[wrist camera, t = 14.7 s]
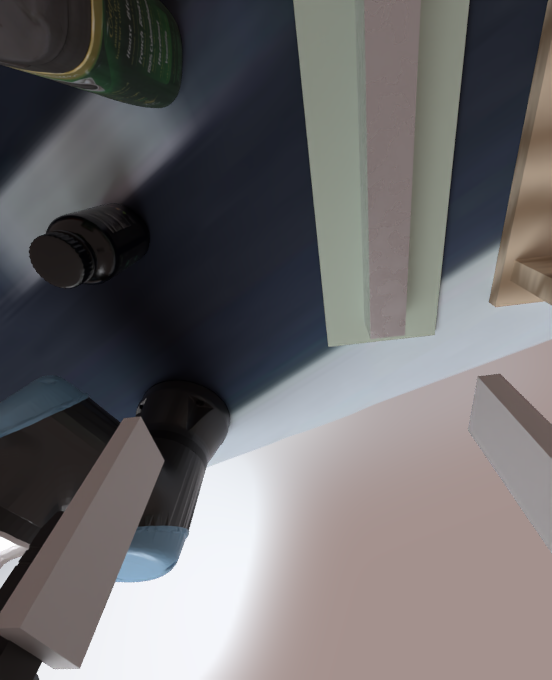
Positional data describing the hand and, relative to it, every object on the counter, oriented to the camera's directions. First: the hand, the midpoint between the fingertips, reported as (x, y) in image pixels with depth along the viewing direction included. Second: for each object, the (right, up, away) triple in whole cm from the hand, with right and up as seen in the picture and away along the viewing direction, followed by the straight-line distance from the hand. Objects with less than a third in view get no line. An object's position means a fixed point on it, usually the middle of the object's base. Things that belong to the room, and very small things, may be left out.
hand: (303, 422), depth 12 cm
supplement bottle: (-20, +16, +25) cm, 36 cm away
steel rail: (+10, +20, +19) cm, 30 cm away
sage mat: (+10, +21, +20) cm, 30 cm away
